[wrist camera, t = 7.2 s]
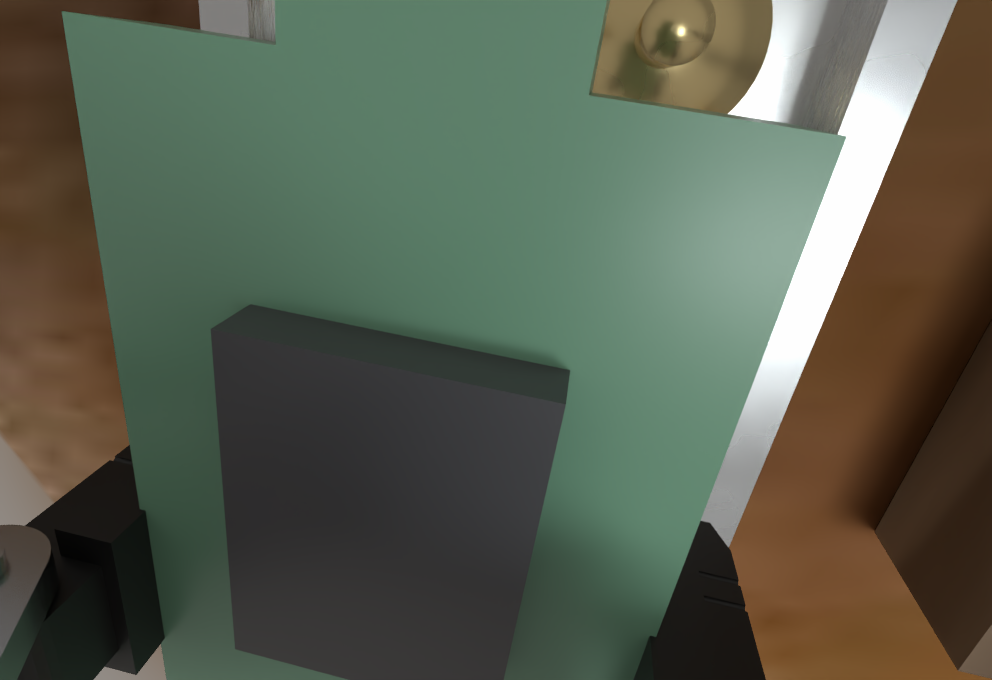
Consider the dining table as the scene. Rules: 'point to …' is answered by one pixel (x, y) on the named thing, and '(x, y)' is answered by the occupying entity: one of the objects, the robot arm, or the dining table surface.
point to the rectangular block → (951, 520)
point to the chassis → (769, 96)
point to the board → (425, 331)
